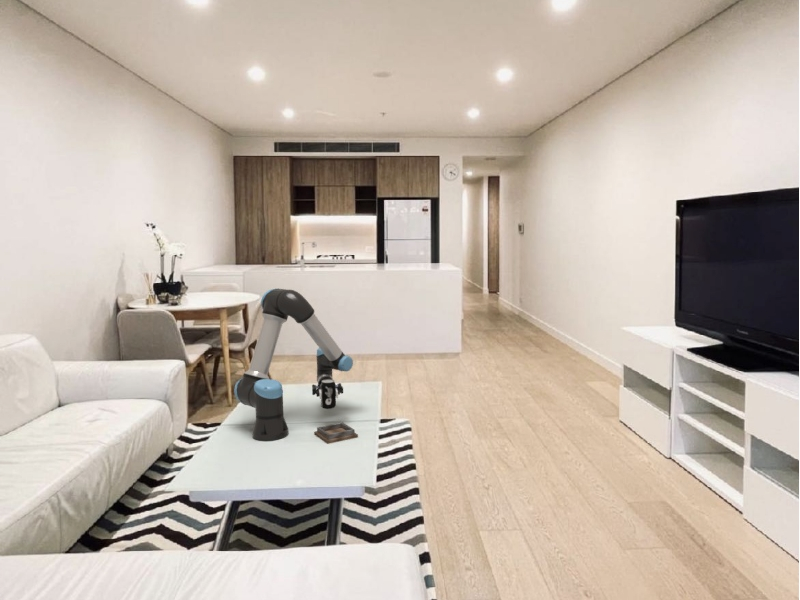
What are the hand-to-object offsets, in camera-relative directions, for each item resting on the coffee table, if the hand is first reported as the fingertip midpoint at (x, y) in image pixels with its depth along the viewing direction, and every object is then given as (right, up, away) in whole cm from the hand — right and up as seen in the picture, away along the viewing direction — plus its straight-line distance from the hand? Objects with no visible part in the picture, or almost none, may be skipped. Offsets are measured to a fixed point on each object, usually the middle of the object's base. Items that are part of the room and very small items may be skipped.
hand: (328, 395), depth 250 cm
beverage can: (-1, -6, +6) cm, 8 cm away
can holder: (+4, -16, -7) cm, 18 cm away
